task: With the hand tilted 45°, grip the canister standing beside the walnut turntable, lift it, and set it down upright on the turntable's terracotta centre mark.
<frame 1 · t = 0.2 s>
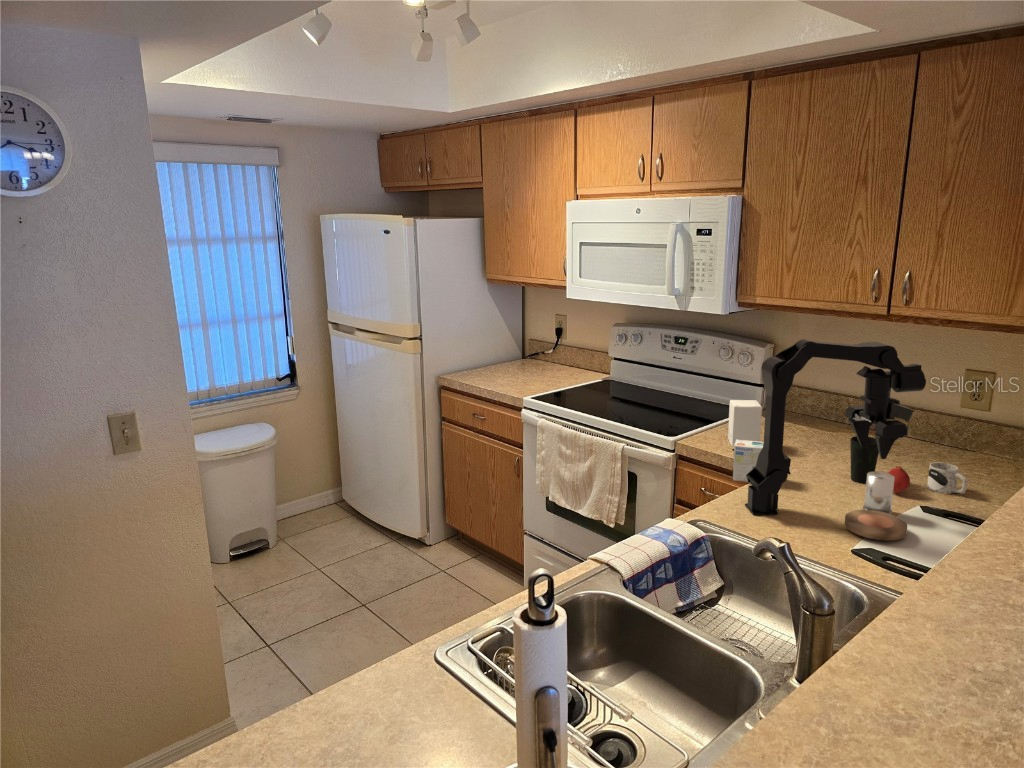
hand: (873, 452, 170), 15 cm above the table, tool pointing down, fingers open, 9 cm apart
canister: (876, 512, 169), on the table
onion: (896, 493, 181), on the table
mug: (946, 492, 182), on the table
supplement box: (743, 447, 223), on the table
turntable: (874, 531, 159), on the table
light bulb box: (752, 479, 194), on the table
cup: (861, 480, 191), on the table
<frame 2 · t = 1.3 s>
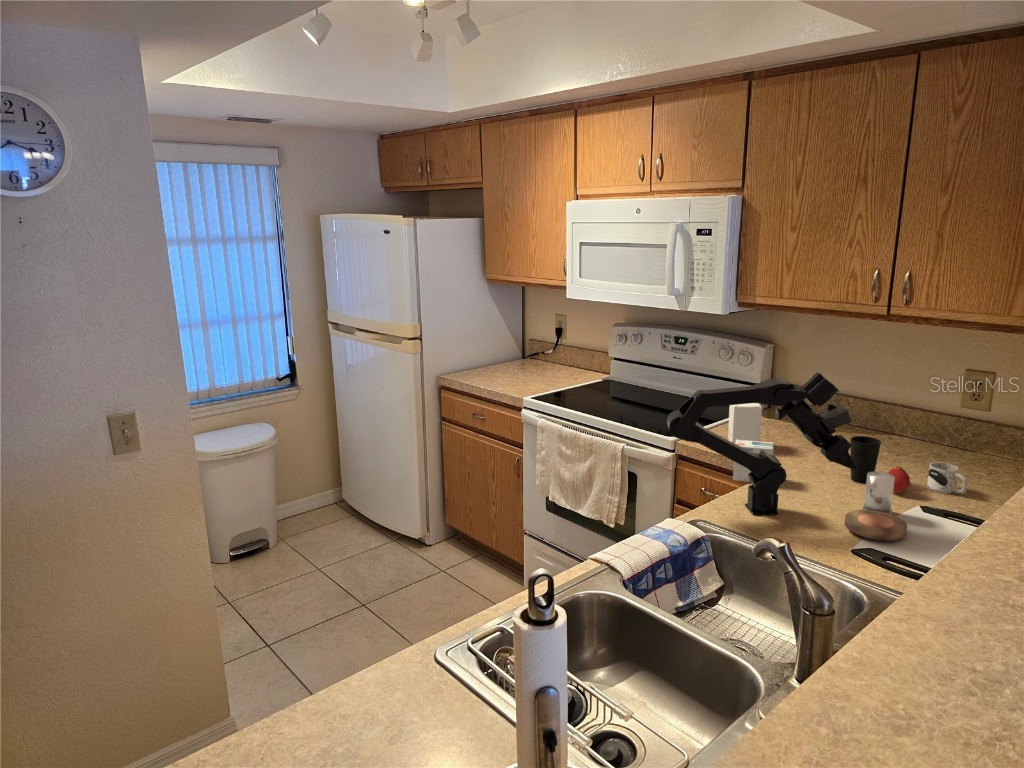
hand: (848, 461, 167), 14 cm above the table, tool tilted 45°, fingers open, 9 cm apart
nothing on the table moved.
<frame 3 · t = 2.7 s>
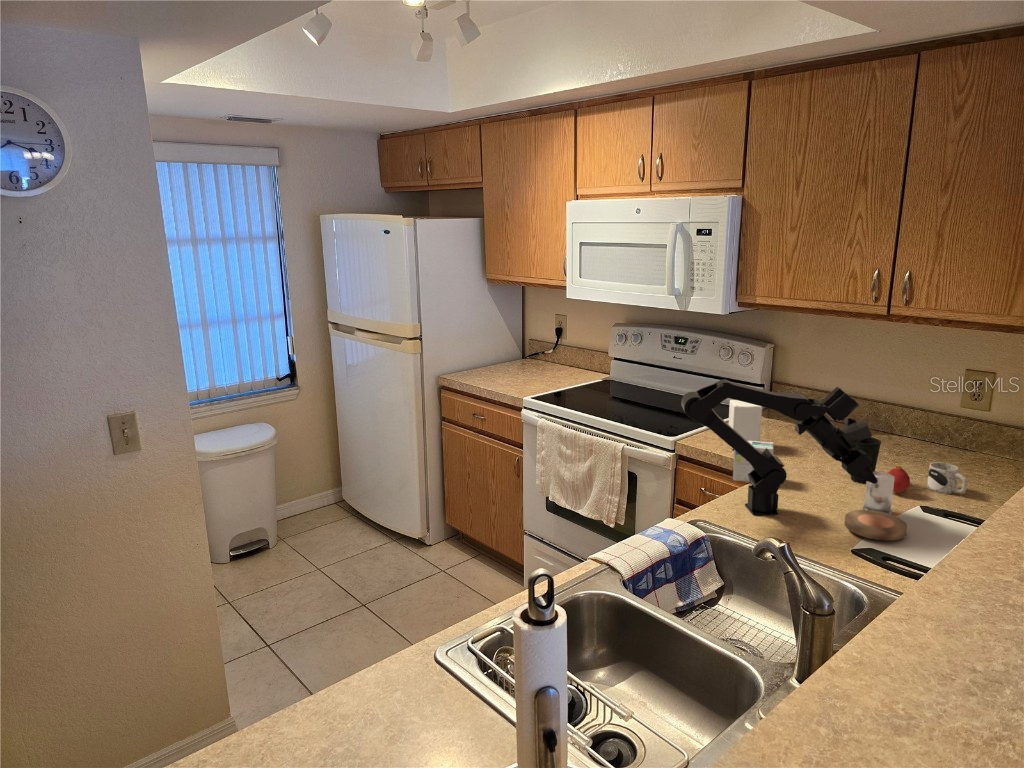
hand: (868, 475, 167), 10 cm above the table, tool tilted 45°, fingers open, 9 cm apart
nothing on the table moved.
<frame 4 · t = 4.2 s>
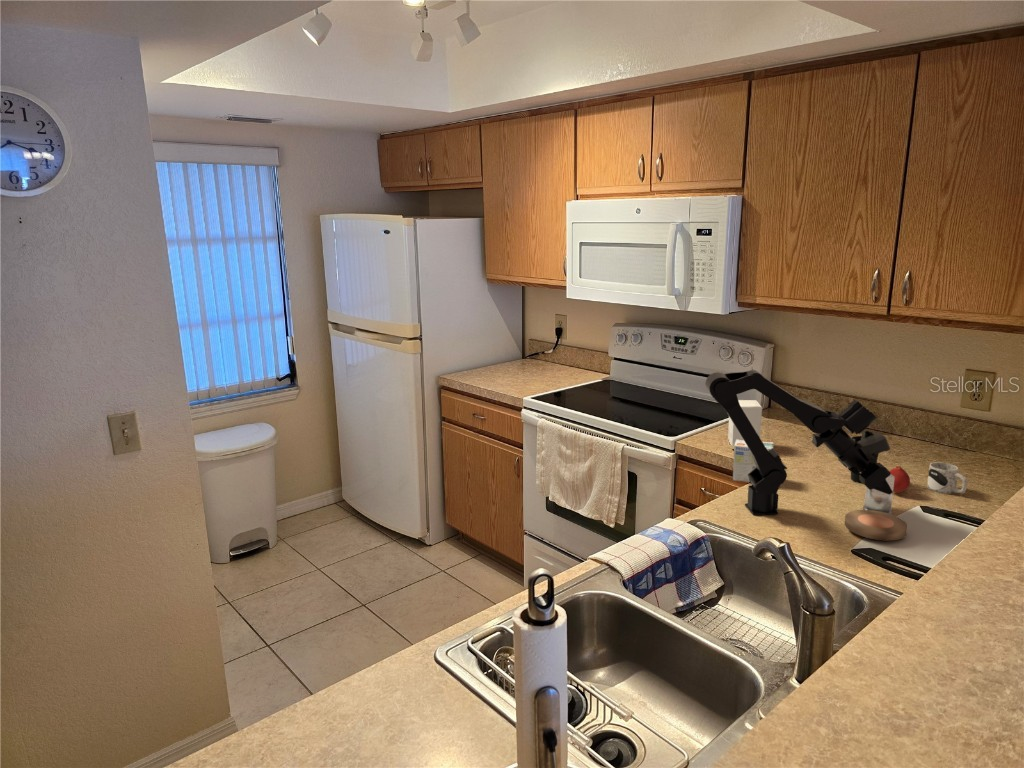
hand: (885, 488, 168), 7 cm above the table, tool tilted 45°, fingers closed on canister, 6 cm apart
canister: (877, 512, 169), on the table, touching gripper
everything else where it was.
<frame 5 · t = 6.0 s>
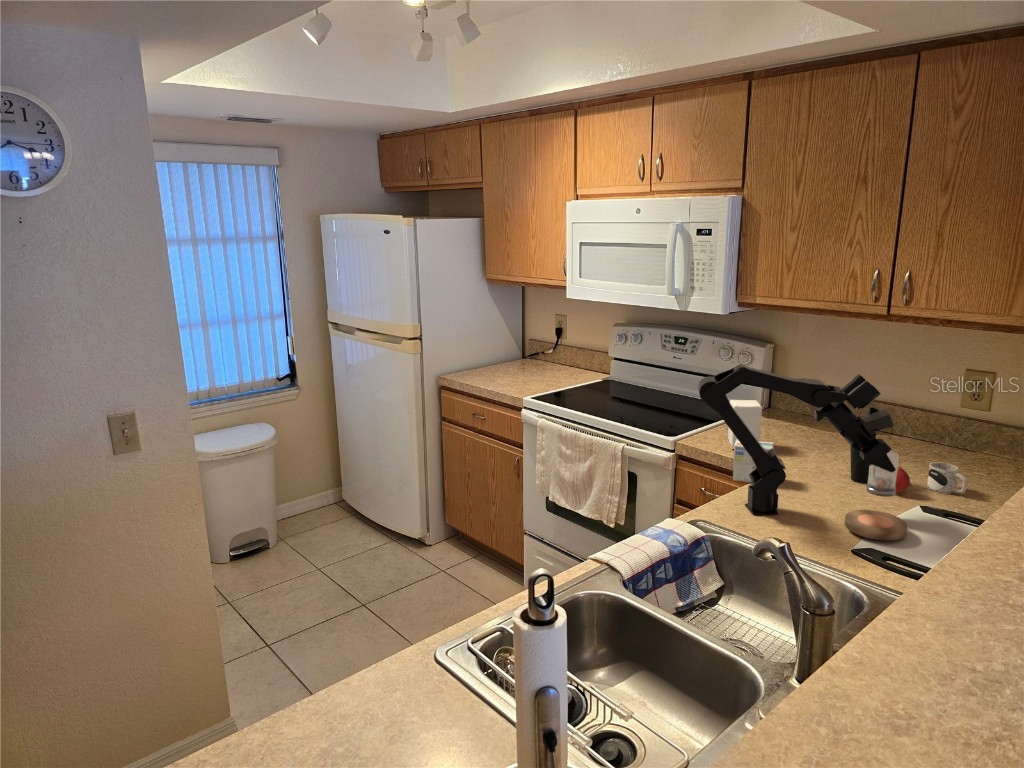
hand: (889, 466, 164), 13 cm above the table, tool tilted 45°, fingers closed on canister, 6 cm apart
canister: (880, 491, 165), point 7 cm above the table, touching gripper
everything else where it was.
when the fingers open (10 cm above the table, at t = 7.8 s): canister stays where it is, resting on turntable.
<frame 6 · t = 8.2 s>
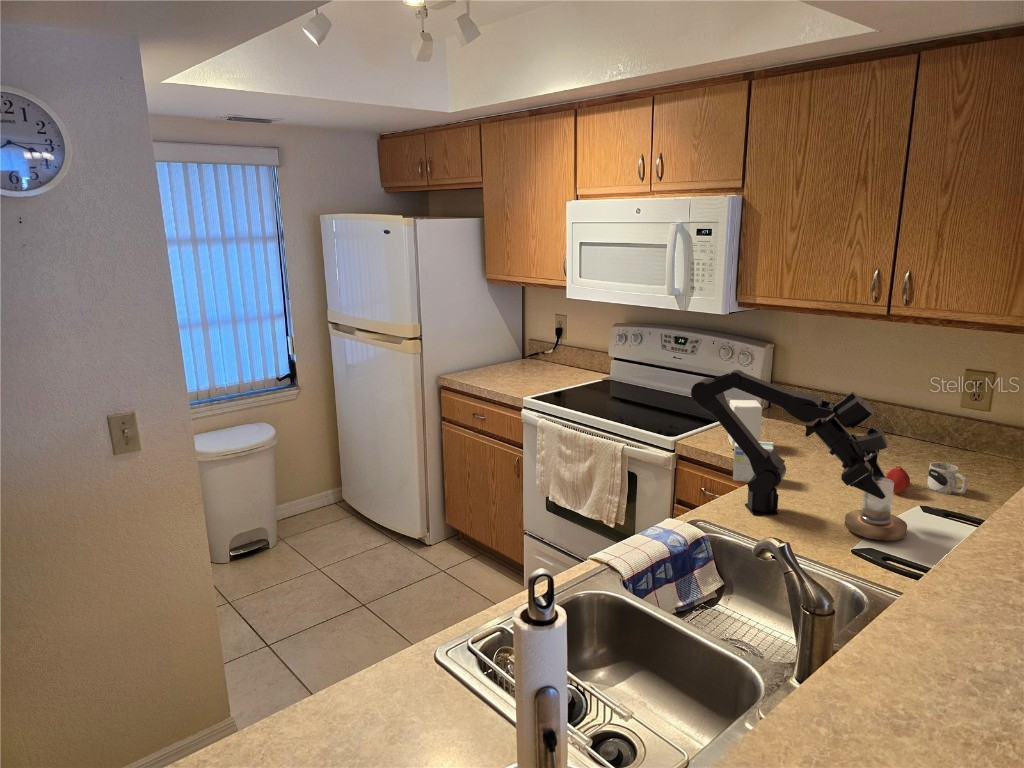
hand: (885, 491, 156), 11 cm above the table, tool tilted 45°, fingers open, 9 cm apart
canister: (875, 520, 158), point 3 cm above the table, touching turntable
everything else where it was.
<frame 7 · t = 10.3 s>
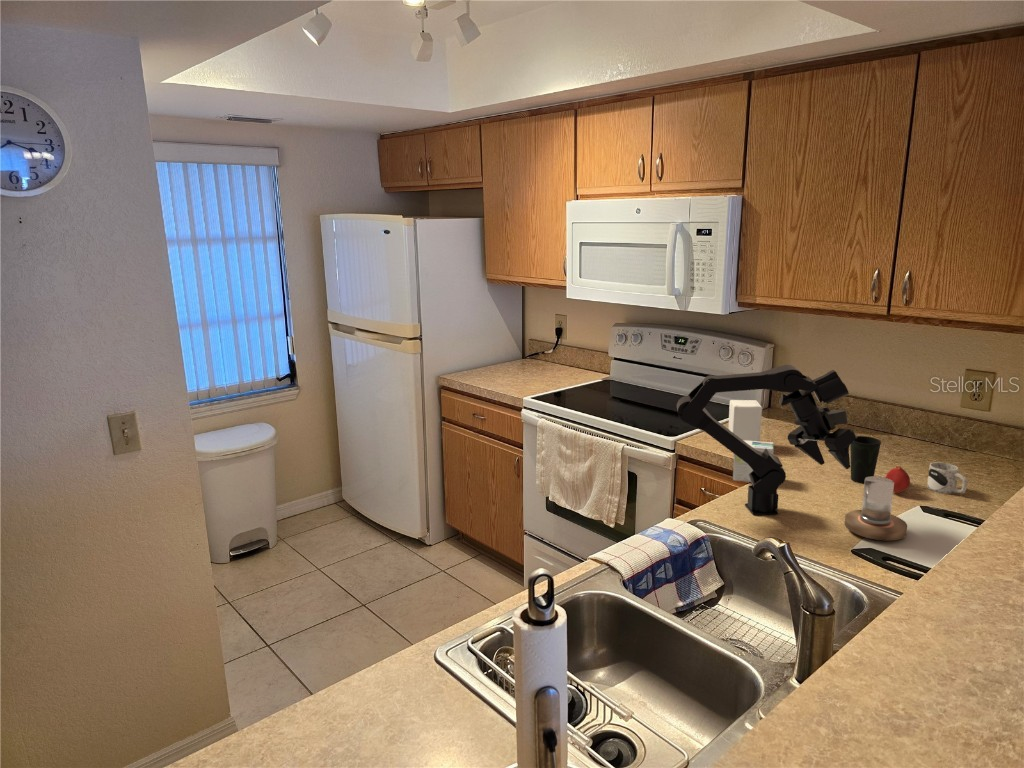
hand: (835, 466, 166), 13 cm above the table, tool tilted 30°, fingers open, 9 cm apart
nothing on the table moved.
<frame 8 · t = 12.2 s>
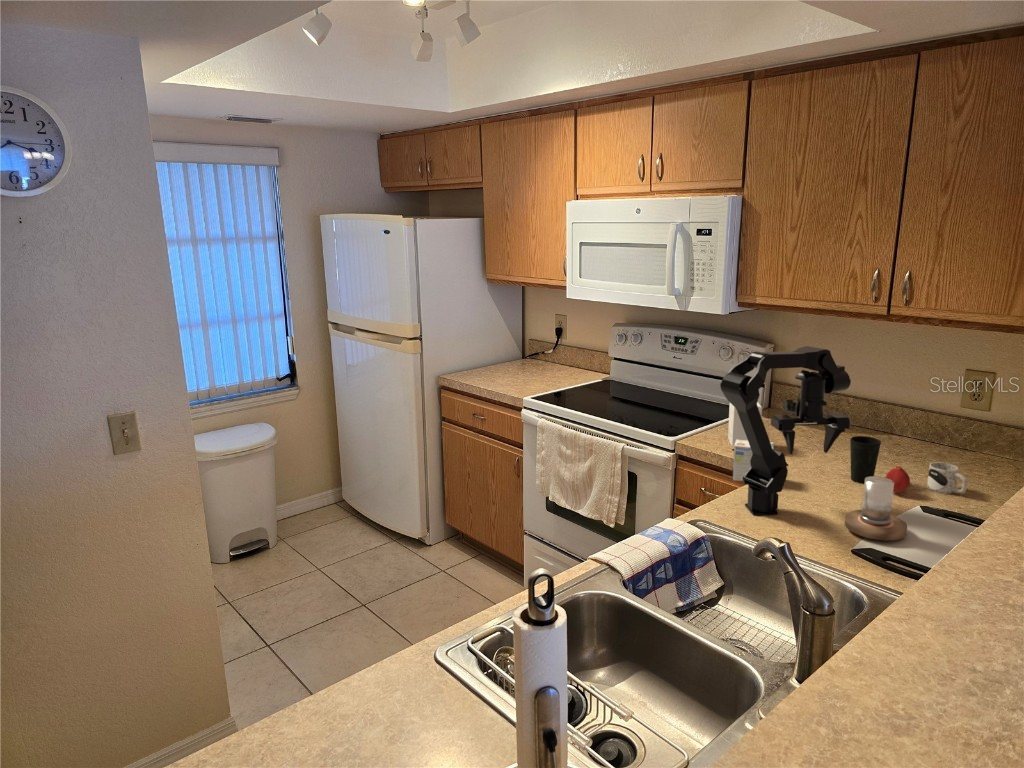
hand: (807, 453, 176), 13 cm above the table, tool pointing down, fingers open, 9 cm apart
nothing on the table moved.
at the end: canister 0.1 cm off-centre on the turntable, point 2.9 cm above the turntable's base; canister tilted 0°; the gripper is holding nothing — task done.
